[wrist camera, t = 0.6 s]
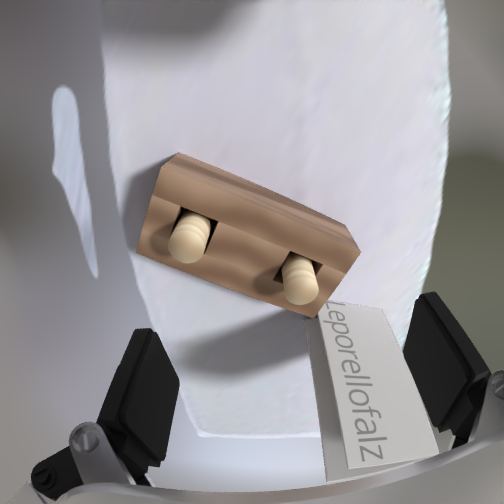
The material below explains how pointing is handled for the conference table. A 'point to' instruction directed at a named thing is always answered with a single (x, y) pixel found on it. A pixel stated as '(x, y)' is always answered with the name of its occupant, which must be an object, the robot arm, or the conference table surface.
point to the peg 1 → (190, 237)
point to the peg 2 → (299, 279)
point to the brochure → (364, 394)
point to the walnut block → (245, 233)
